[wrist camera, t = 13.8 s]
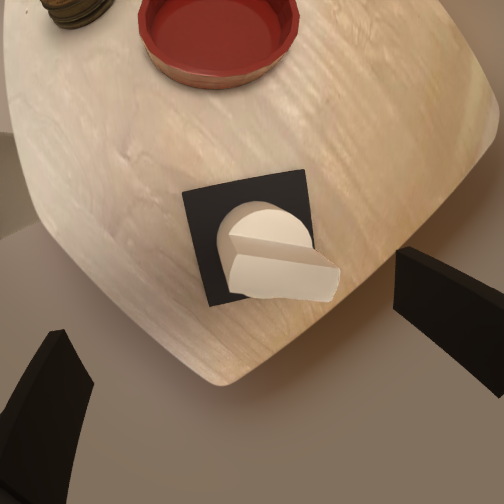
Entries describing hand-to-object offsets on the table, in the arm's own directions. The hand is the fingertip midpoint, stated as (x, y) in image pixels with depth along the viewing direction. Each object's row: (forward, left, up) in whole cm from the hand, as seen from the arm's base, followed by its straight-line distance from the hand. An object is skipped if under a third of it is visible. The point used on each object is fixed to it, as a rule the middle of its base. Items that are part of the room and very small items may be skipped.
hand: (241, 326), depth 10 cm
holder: (+5, -4, -24) cm, 24 cm away
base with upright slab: (+5, -4, -23) cm, 24 cm away
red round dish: (+5, +22, -24) cm, 33 cm away
